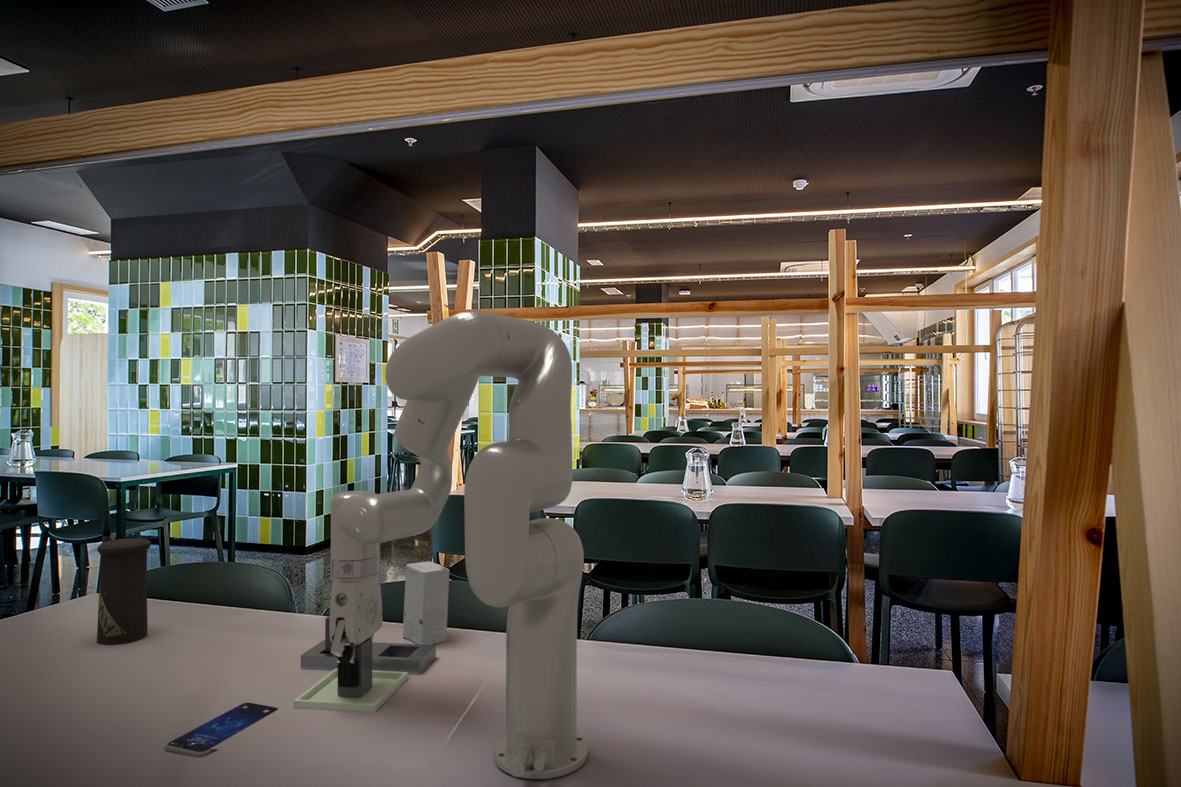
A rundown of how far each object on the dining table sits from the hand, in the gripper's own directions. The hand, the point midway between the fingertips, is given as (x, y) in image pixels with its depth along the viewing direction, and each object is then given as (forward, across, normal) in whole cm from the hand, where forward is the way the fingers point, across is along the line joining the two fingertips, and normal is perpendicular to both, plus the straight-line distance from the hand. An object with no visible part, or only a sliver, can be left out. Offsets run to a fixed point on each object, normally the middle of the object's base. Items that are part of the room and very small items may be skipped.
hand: (355, 679), depth 112 cm
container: (+2, +21, +59) cm, 63 cm away
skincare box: (+3, +28, -2) cm, 28 cm away
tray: (+3, 0, 0) cm, 3 cm away
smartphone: (+3, -13, +13) cm, 19 cm away
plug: (+2, 0, 0) cm, 2 cm away
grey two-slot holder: (+2, +13, +3) cm, 13 cm away
